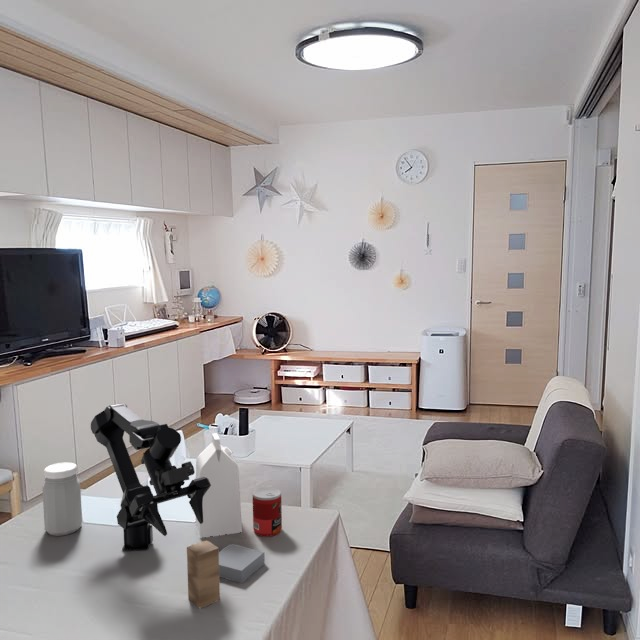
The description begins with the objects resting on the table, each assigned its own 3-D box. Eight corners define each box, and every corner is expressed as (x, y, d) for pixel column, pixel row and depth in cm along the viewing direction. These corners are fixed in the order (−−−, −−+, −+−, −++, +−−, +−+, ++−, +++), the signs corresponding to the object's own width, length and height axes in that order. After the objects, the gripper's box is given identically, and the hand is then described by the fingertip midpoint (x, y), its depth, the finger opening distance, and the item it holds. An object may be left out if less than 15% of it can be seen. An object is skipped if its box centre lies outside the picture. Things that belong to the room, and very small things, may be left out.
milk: (195, 520, 175) (192, 432, 173) (235, 514, 179) (232, 428, 176) (199, 538, 164) (197, 444, 161) (242, 532, 167) (240, 440, 165)
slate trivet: (206, 573, 146) (206, 561, 146) (231, 555, 155) (230, 543, 154) (241, 583, 141) (241, 570, 141) (264, 563, 150) (264, 552, 150)
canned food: (277, 538, 164) (277, 498, 163) (249, 535, 165) (248, 496, 164) (285, 526, 171) (284, 488, 170) (257, 523, 173) (257, 486, 172)
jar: (79, 518, 177) (76, 458, 175) (85, 531, 169) (82, 468, 167) (42, 526, 172) (39, 465, 170) (47, 540, 163) (43, 475, 162)
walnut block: (188, 598, 135) (186, 547, 134) (208, 590, 138) (206, 540, 137) (199, 608, 131) (198, 555, 130) (219, 599, 135) (218, 547, 133)
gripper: (132, 461, 136) (157, 525, 129) (205, 444, 148) (231, 501, 141) (119, 485, 142) (142, 547, 135) (190, 467, 155) (214, 523, 147)
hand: (184, 528), depth 139 cm, fingers open, 9 cm apart
